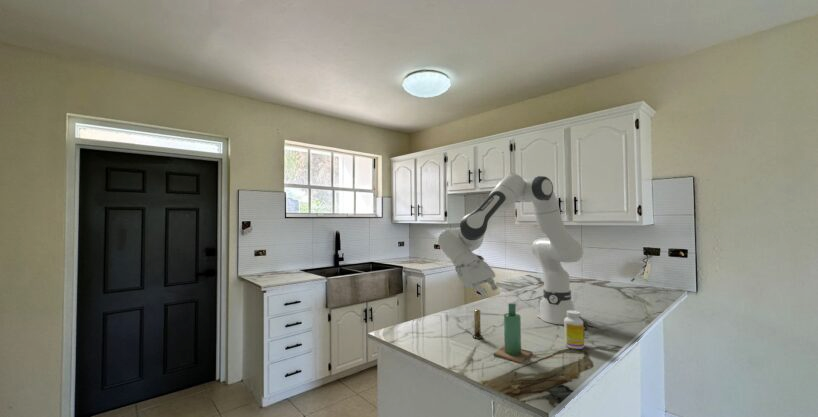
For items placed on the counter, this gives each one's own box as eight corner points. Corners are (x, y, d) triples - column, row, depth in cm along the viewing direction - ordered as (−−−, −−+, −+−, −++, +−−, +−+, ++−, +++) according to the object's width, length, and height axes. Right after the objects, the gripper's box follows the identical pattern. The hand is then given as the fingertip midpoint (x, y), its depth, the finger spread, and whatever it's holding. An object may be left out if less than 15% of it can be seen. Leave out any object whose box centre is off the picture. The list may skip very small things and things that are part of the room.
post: (475, 335, 138) (475, 308, 138) (484, 337, 135) (483, 309, 136) (470, 337, 135) (470, 310, 135) (479, 339, 132) (479, 312, 132)
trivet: (505, 347, 124) (505, 345, 124) (532, 353, 118) (531, 351, 118) (493, 355, 117) (493, 353, 117) (521, 363, 110) (521, 360, 110)
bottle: (508, 348, 121) (507, 301, 122) (523, 351, 118) (522, 303, 119) (502, 352, 117) (501, 304, 118) (517, 356, 114) (516, 306, 114)
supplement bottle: (587, 349, 121) (586, 314, 122) (569, 349, 122) (568, 314, 122) (578, 343, 128) (577, 309, 129) (561, 343, 128) (560, 309, 129)
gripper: (458, 260, 120) (483, 291, 114) (483, 255, 136) (507, 282, 130) (448, 271, 123) (472, 302, 116) (474, 265, 139) (496, 292, 132)
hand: (490, 291), depth 123 cm, fingers open, 8 cm apart
